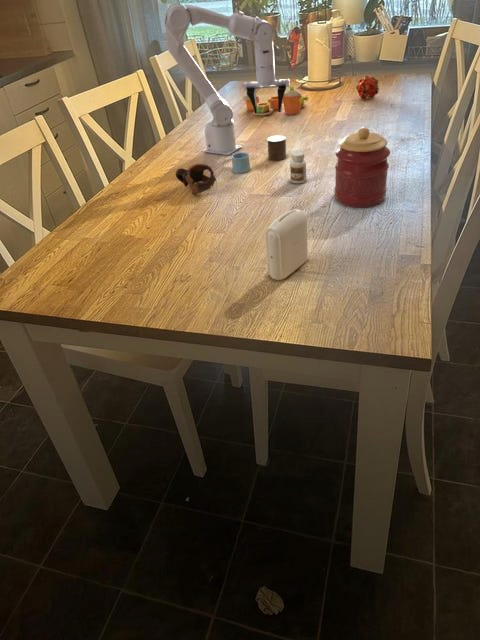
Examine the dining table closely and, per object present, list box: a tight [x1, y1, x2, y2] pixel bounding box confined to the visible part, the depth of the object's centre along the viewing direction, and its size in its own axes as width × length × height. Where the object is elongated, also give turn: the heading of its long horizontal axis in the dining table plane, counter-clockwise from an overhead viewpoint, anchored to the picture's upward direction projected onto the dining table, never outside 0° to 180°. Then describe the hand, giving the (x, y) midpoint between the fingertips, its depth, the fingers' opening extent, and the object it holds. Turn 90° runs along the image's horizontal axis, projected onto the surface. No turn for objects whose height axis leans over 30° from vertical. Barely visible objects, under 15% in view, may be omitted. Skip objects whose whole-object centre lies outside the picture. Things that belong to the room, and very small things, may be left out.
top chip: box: [267, 135, 287, 148], centre depth 153 cm, size 6×6×2 cm
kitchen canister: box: [334, 126, 391, 208], centre depth 123 cm, size 13×13×18 cm
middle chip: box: [267, 144, 287, 154], centre depth 154 cm, size 6×6×2 cm
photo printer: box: [265, 208, 309, 281], centre depth 100 cm, size 10×4×12 cm, turn 140°
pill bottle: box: [289, 151, 307, 184], centre depth 138 cm, size 4×4×8 cm
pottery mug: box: [175, 163, 217, 197], centre depth 140 cm, size 12×10×8 cm
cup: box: [231, 152, 251, 174], centre depth 149 cm, size 5×5×4 cm
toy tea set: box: [242, 85, 309, 117], centre depth 195 cm, size 26×16×10 cm, turn 81°
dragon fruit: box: [355, 75, 380, 100], centre depth 199 cm, size 8×8×12 cm
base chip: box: [267, 151, 287, 162], centre depth 156 cm, size 6×6×2 cm
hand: (268, 111), depth 161 cm, fingers open, 7 cm apart
